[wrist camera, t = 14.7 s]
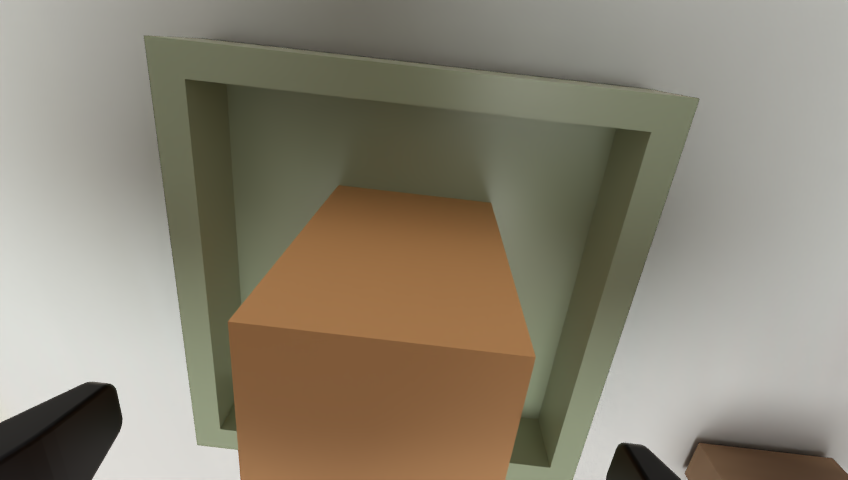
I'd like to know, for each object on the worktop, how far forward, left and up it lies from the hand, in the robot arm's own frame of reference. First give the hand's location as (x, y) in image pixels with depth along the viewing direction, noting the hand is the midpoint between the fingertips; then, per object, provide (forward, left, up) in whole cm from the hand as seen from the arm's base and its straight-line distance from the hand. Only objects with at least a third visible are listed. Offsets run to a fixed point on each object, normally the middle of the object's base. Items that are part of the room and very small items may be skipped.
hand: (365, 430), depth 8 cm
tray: (0, 0, -7) cm, 7 cm away
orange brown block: (0, 0, -6) cm, 6 cm away
